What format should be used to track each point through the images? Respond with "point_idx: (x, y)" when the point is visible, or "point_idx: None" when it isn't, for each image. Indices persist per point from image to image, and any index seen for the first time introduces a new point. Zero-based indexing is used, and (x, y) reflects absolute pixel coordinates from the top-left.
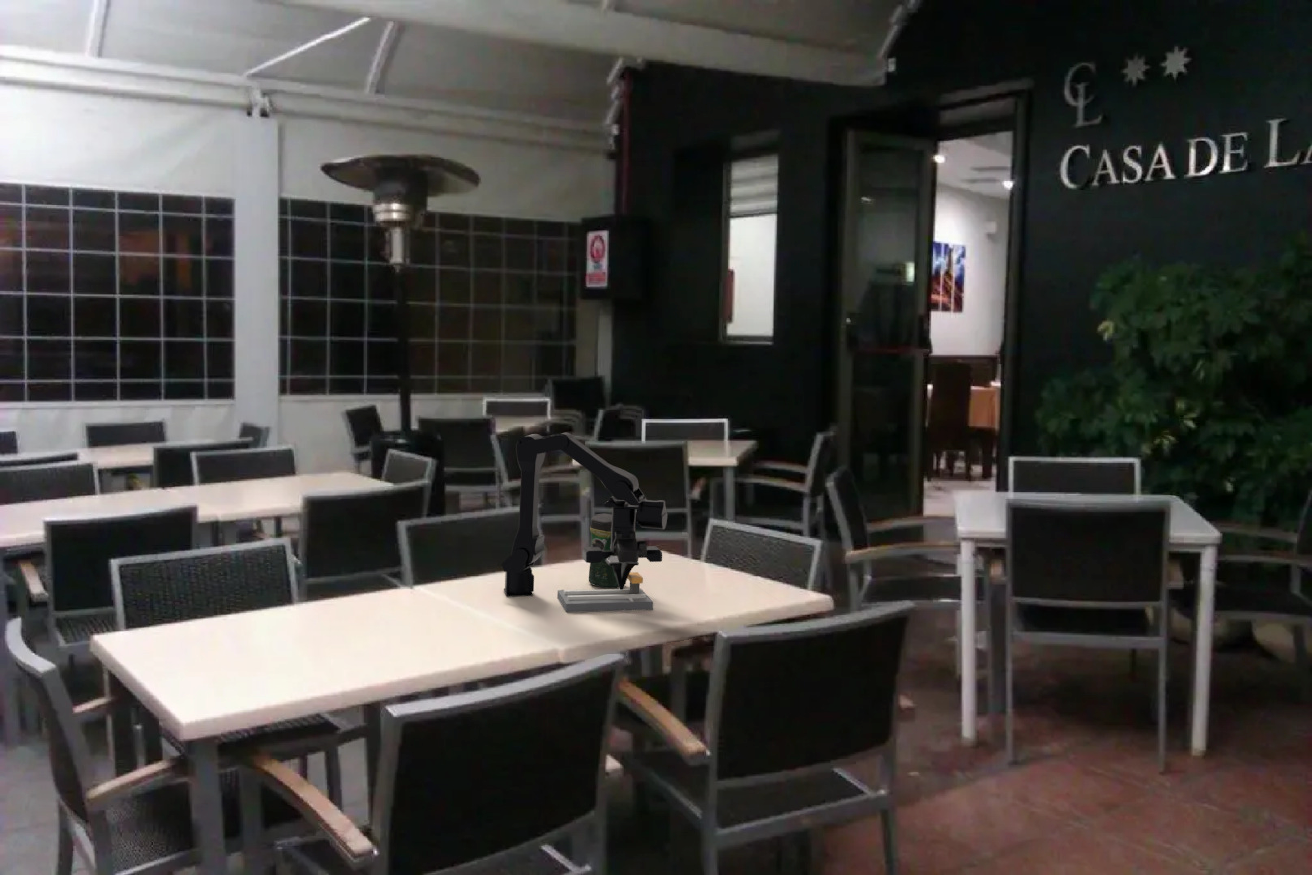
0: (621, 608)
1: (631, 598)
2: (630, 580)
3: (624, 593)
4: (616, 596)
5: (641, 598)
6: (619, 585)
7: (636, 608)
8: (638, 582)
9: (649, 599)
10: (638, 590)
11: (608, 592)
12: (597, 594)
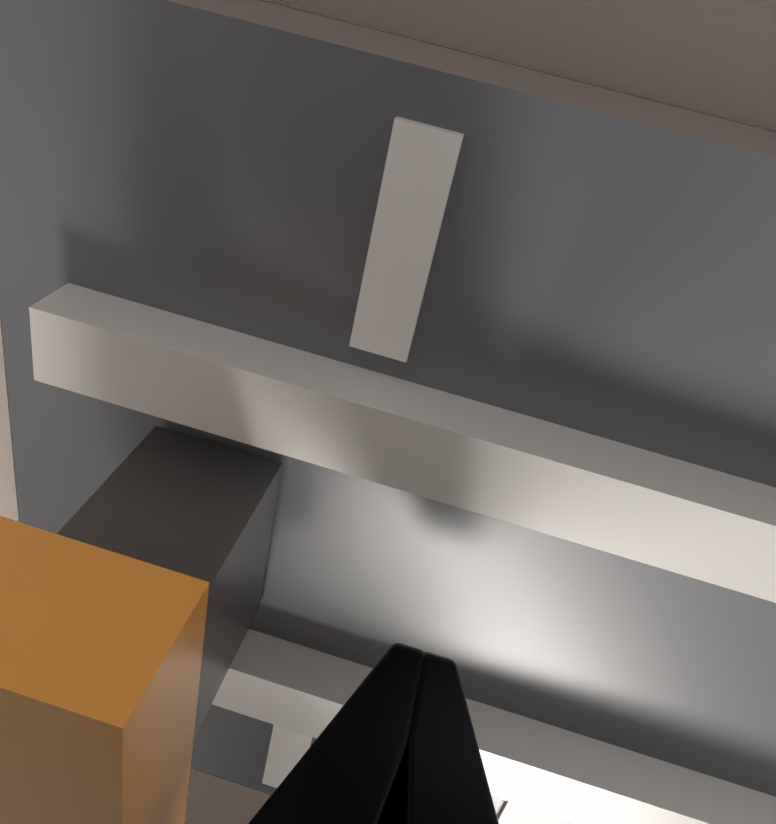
0: (696, 119)
1: (352, 335)
2: (182, 742)
3: (326, 642)
4: (644, 476)
5: (155, 288)
6: (467, 729)
7: (382, 37)
8: (17, 541)
9: (19, 164)
10: (118, 489)
11: (567, 744)
12: (770, 763)
